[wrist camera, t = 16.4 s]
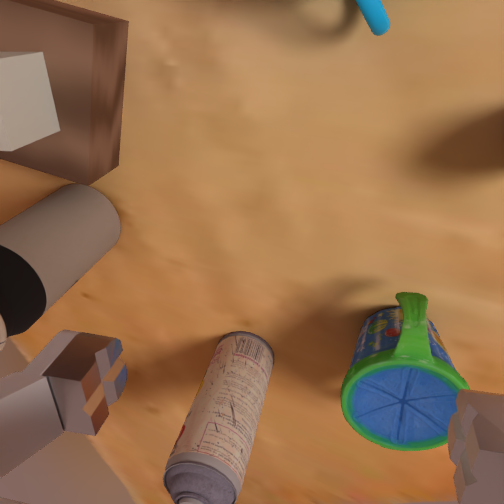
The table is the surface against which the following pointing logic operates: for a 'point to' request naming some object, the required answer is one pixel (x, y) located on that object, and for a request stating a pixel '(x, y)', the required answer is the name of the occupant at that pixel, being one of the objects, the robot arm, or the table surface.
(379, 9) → the mug
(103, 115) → the walnut block
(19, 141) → the light gray cube
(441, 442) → the snack cup
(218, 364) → the aerosol can
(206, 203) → the table surface
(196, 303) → the table surface
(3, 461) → the robot arm
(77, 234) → the travel mug
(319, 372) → the table surface
